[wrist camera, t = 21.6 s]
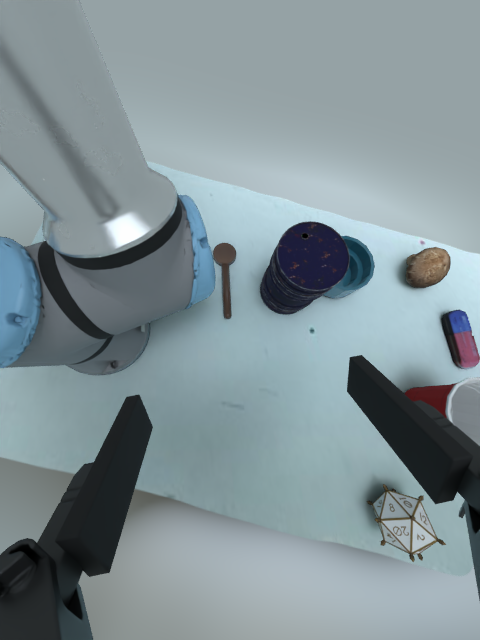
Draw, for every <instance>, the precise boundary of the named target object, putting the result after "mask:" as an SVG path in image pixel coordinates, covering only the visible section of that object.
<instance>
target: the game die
mask: <svg viewBox="0 0 480 640" xmlns="http://www.w3.org/2000/svg"><path fill="white" fill-rule="evenodd" d="M383 487H384V489H385V490H386V491H385V492H384V493H383V494H382V495H381V496H380V497H379V498H378V499H377V500H376V501H375V502H374V503H372V502H370V501H367V502H368V504H370V505H372V506H373V509H374V512H375V515H376V519H375V521H377V523H378V524H379V527H380V530H381V533H382V536H383V540H382V541H381V545H385V542H387V543H389V544H391V545H393V546H395V547H397V548H399V549H401V550H403V551H405V552H407V553H409V554H410V555H409V556H410V559H411V560H412V561H413V562H414V560H415V559H414V556H413V554H418V557H419V559H421V560H422V559H423V557H422V555H421V554H420V553H421V552H423V551H424V550H426V549H427V548H428V547H430V546H431V545H433V544H434V543H436V542H439V543H440V544H442V545H446V544H445V543H444V542H443V540H441V539H438V538H437V536H436V534H435V532H434V530H433V527H432V525H431V523H430V521H429V519H428V517H427V514H426V512H425V510H424V508H423V506H422V503H421V501H423V500H424V499H423V496H419V499H416V498H413V497H410V496H406V495H403V494H400V493H397V492H396V490H395V489H394V488H393V489H392V491H390V490H388V488H387V486H386V485H383Z"/></svg>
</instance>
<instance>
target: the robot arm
mask: <svg viewBox="0 0 480 640" xmlns="http://www.w3.org/2000/svg"><path fill="white" fill-rule="evenodd" d="M0 164H1V165H2V166H3V167H4V168H5V169H6V170H7V171H8V172H9V173H10V174H11V175H12V176H13V178H14V179H15V180H16V181H17V182H18V183H19V184H20V185H21V186H22V187H23V188H24V189H25V191H26V192H27V193H28V194H29V195H30V196H31V197H32V198H33V199H34V200H35V201H36V202H37V203H38V204H39V205H40V207H41V208H42V209H43V210H44V220H43V236H44V238H45V240H46V241H43V242H40V243H37V244H34V245H31V246H27V247H23V246H22V245H20V244H19V243H17V242H16V241H14V240H12V239H10V238H7V237H6V238H5V237H0V368H6V367H30V366H55V365H66V366H68V367H70V368H72V369H74V370H76V371H78V372H81V373H85V374H90V375H104V374H111V373H115V372H118V371H121V370H123V369H125V368H127V367H128V366H130V365H131V364H132V363H133V362H135V361H136V360H137V359H138V357H139V356H140V355H141V354H142V352H143V351H144V349H145V347H146V345H147V342H148V339H149V333H150V324H149V322H152V321H154V320H157V319H160V318H162V317H165V316H168V315H170V314H173V313H176V312H178V311H181V310H183V309H188V308H190V307H191V306H192V305H193V304H195V303H197V302H200V301H202V300H204V299H206V298H208V297H209V296H210V295H211V294H212V292H213V290H214V287H215V269H214V262H213V257H212V252H211V248H210V246H209V244H208V239H207V234H206V229H205V226H204V223H203V220H202V218H201V215H200V213H199V210H198V208H197V206H196V205H195V203H194V201H193V200H192V199H191V198H190V197H189V196H187V195H177V192H176V189H175V187H174V185H173V183H172V182H171V181H170V180H169V179H168V178H167V177H165V176H163V175H162V174H160V173H158V172H156V171H154V170H152V169H150V168H148V166H147V163H146V161H145V158H144V156H143V153H142V151H141V149H140V146H139V144H138V141H137V139H136V137H135V134H134V132H133V129H132V127H131V124H130V122H129V120H128V117H127V115H126V112H125V110H124V108H123V105H122V103H121V100H120V98H119V95H118V93H117V91H116V88H115V86H114V84H113V81H112V79H111V76H110V74H109V71H108V69H107V67H106V64H105V62H104V59H103V57H102V54H101V52H100V50H99V47H98V45H97V42H96V40H95V37H94V35H93V33H92V30H91V28H90V25H89V23H88V20H87V18H86V16H85V13H84V11H83V8H82V6H81V4H80V1H79V0H0ZM347 392H348V393H349V394H350V396H351V397H352V398H353V399H354V401H355V402H356V403H357V405H358V406H359V407H360V408H361V410H362V411H363V412H364V413H365V415H366V416H367V417H368V419H369V420H370V421H371V422H372V424H373V425H374V426H375V428H376V429H377V430H378V431H379V433H380V434H381V435H382V436H383V438H384V439H385V440H386V442H387V443H388V444H389V445H390V447H391V448H392V449H393V450H394V452H395V453H396V454H397V456H398V457H399V458H400V459H401V461H402V462H403V463H404V465H405V466H406V467H407V468H408V470H409V471H410V472H411V473H412V475H413V476H414V477H415V479H416V480H417V481H418V482H419V484H420V485H421V486H422V487H423V489H424V490H425V491H426V493H427V494H428V495H429V496H430V498H431V499H432V500H433V501H434V503H435V504H438V503H443V502H448V501H452V500H454V498H455V495H456V493H457V492H458V493H459V494H460V495H461V496H462V497H463V498H464V499H465V501H464V503H463V505H462V507H461V509H460V511H459V517H461V518H463V516H464V514H465V515H466V521H467V527H468V533H469V539H470V545H471V551H472V557H473V563H474V569H475V575H476V581H477V587H478V593H479V599H480V446H479V445H478V444H477V443H476V442H474V441H473V440H472V439H471V438H470V437H468V436H467V435H466V434H465V433H464V432H463V431H461V430H460V429H459V428H458V427H457V426H454V425H453V423H452V422H451V421H450V420H448V419H447V418H445V417H444V415H442V414H441V413H440V412H439V411H438V410H437V409H435V408H434V407H433V406H431V405H429V404H427V403H425V402H423V401H421V400H418V401H412V400H411V399H409V398H408V397H407V396H406V395H405V394H404V393H403V392H402V391H401V390H400V389H398V388H397V387H396V386H395V385H394V384H393V383H392V382H391V381H390V380H389V379H387V378H386V377H385V376H384V375H383V374H382V373H381V372H380V371H379V370H377V369H376V368H375V367H374V366H373V365H372V364H371V363H370V362H369V361H368V360H366V359H365V358H364V357H363V356H362V355H360V356H354V357H350V362H349V374H348V385H347ZM152 428H153V426H152V424H151V421H150V419H149V417H148V414H147V412H146V409H145V407H144V405H143V402H142V400H141V397H140V395H135V396H129V397H126V399H125V401H124V403H123V405H122V407H121V409H120V411H119V413H118V415H117V417H116V419H115V421H114V423H113V425H112V427H111V429H110V431H109V433H108V435H107V437H106V439H105V441H104V443H103V445H102V447H101V449H100V451H99V453H98V455H97V457H96V459H95V461H94V462H93V463H88V464H84V465H83V466H82V468H81V469H80V470H79V471H78V472H77V473H76V474H75V476H74V477H73V479H72V481H71V483H70V484H69V486H68V488H67V491H66V492H65V493H64V495H63V497H62V499H61V502H60V503H59V504H58V506H57V508H56V510H55V511H54V513H53V515H52V517H51V519H50V521H49V522H48V524H47V526H46V528H45V530H44V532H43V533H42V535H41V537H40V539H39V541H38V542H37V543H36V542H35V541H34V540H33V539H28V538H27V539H23V540H20V541H18V542H16V543H15V544H13V545H11V546H10V547H9V548H7V549H6V550H5V551H4V552H3V553H2V554H1V555H0V640H93V636H92V632H91V628H90V624H89V620H88V616H87V611H86V607H85V603H84V599H83V595H82V591H81V587H80V585H79V584H78V581H79V579H80V576H81V573H82V571H84V572H85V573H86V574H87V575H88V576H89V577H90V576H95V575H100V574H104V573H109V572H110V569H111V566H112V562H113V559H114V556H115V552H116V549H117V546H118V542H119V539H120V536H121V532H122V529H123V525H124V522H125V519H126V515H127V512H128V509H129V505H130V502H131V499H132V495H133V492H134V489H135V485H136V482H137V478H138V475H139V472H140V468H141V465H142V462H143V458H144V455H145V452H146V448H147V445H148V441H149V438H150V435H151V431H152Z"/></svg>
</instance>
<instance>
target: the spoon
mask: <svg viewBox="0 0 480 640" xmlns="http://www.w3.org/2000/svg"><path fill="white" fill-rule="evenodd" d="M213 255H214V260H215V261H216V262H217V263H218V264H219V265H222V285H223V307H224V317H225V318H226V319H229V318H231V297H230V278H229V265H230V264H232V263H233V262H234V261H235V258H236V251H235V248H234V247H233V246H232V245H230V244H228V243H221V244H219V245H217V246H216V247H215V249H214V251H213Z"/></svg>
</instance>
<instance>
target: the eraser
mask: <svg viewBox="0 0 480 640" xmlns="http://www.w3.org/2000/svg"><path fill="white" fill-rule="evenodd" d="M442 323H443V326H444V330H445V333H446V337H447V340H448V344H449V347H450V351H451V354H452V357H453V361H454V362H455V364H456V365H457V366H458V367H460V368H463V369H469V368H473V367H475V366H476V365H477V364H478V363H479V360H480V357H479V354H478V350H477V347H476V343H475V340H474V336H472V334H471V333H472V330H471V326H470V323H469V321H468V317H467V314H466V313H465V312H464V311H461V310H455V311H451V312H449V313H446V314H445V315H444V316H443V318H442Z"/></svg>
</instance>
